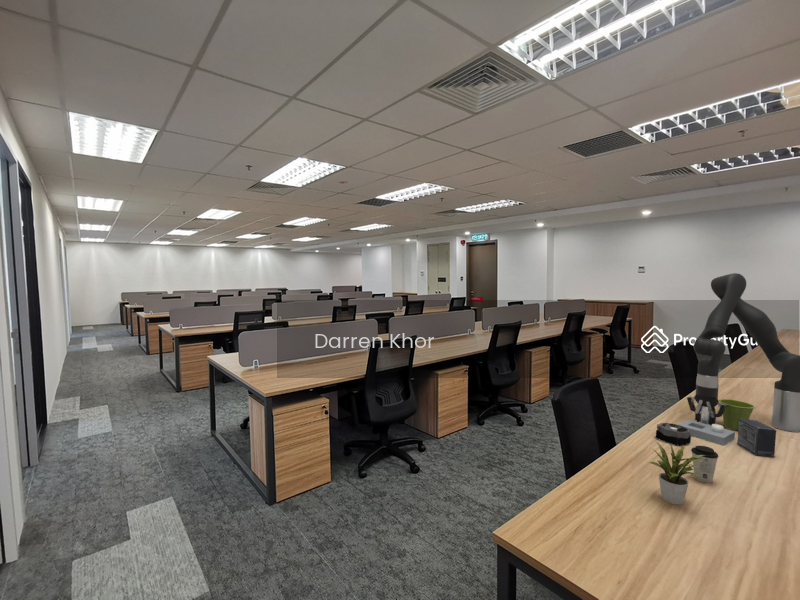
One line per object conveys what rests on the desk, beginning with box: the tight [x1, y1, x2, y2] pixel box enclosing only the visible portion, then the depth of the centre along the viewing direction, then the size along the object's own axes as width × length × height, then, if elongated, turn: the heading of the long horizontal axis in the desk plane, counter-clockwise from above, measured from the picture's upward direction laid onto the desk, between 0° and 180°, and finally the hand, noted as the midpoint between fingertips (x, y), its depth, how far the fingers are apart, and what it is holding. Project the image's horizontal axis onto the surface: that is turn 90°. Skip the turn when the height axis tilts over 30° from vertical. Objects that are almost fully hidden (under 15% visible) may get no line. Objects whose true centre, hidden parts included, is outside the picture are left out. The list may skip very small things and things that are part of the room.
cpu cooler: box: [655, 422, 692, 447], centre depth 152 cm, size 10×6×10 cm
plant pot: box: [718, 398, 756, 431], centre depth 165 cm, size 12×12×11 cm
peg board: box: [676, 419, 736, 446], centre depth 157 cm, size 12×16×5 cm
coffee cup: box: [690, 445, 719, 484], centre depth 122 cm, size 7×7×10 cm
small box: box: [736, 419, 777, 458], centre depth 143 cm, size 11×6×10 cm, turn 168°
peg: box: [700, 405, 711, 425], centre depth 165 cm, size 4×4×10 cm
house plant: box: [648, 441, 705, 506], centre depth 108 cm, size 14×14×16 cm
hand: (705, 423), depth 165 cm, fingers open, 4 cm apart
